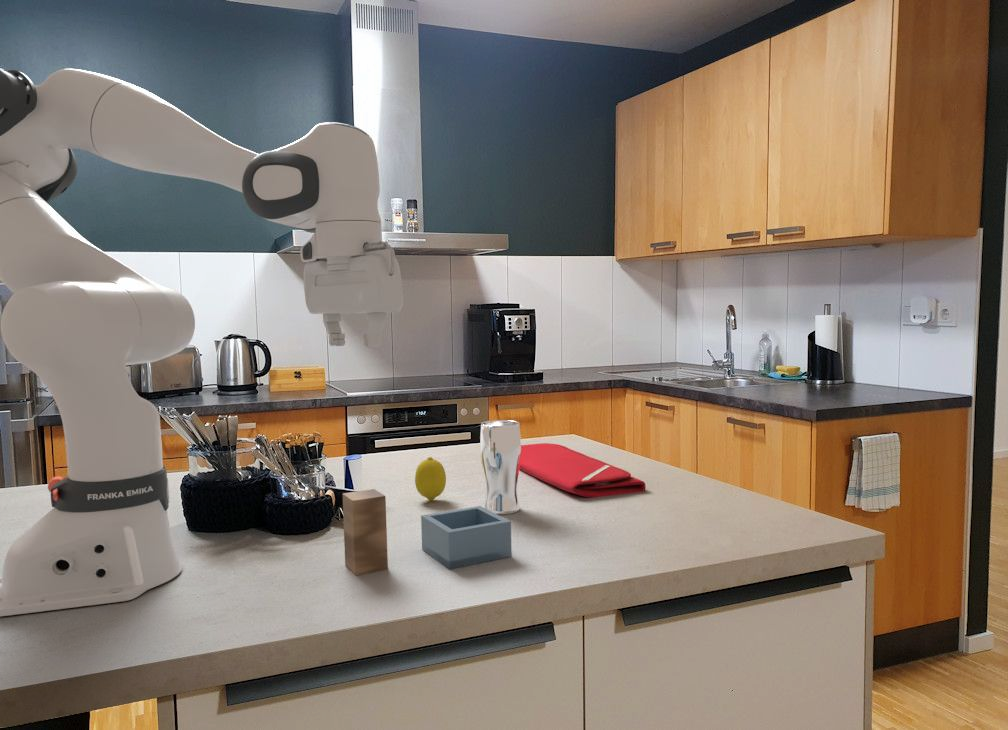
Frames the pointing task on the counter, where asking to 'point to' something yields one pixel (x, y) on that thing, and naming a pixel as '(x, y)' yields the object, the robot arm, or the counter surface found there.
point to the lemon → (430, 478)
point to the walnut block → (365, 531)
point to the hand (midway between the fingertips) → (354, 346)
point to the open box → (466, 536)
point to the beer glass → (501, 464)
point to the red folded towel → (576, 471)
